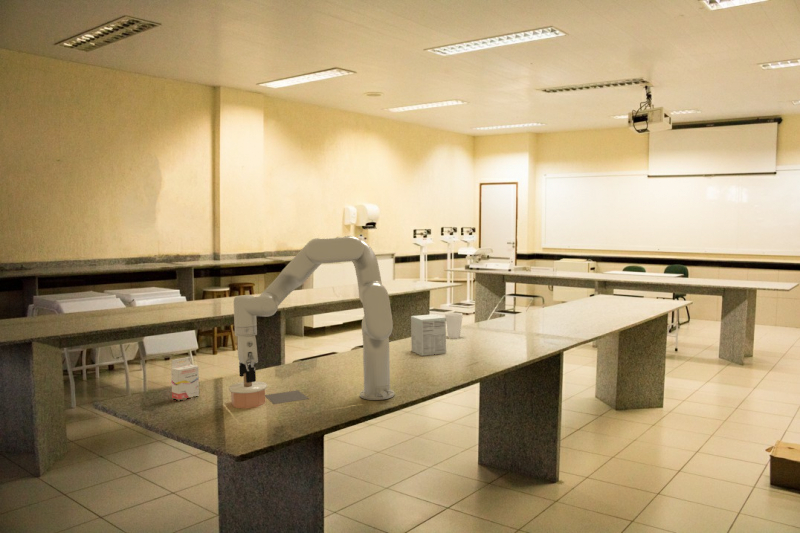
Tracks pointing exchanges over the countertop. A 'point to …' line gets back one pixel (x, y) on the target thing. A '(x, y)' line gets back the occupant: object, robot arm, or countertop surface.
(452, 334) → the foam cup
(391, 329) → the robot arm
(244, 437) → the countertop surface
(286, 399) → the mat
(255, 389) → the lid
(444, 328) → the supplement box
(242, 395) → the bowl
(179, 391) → the ink cartridge box
